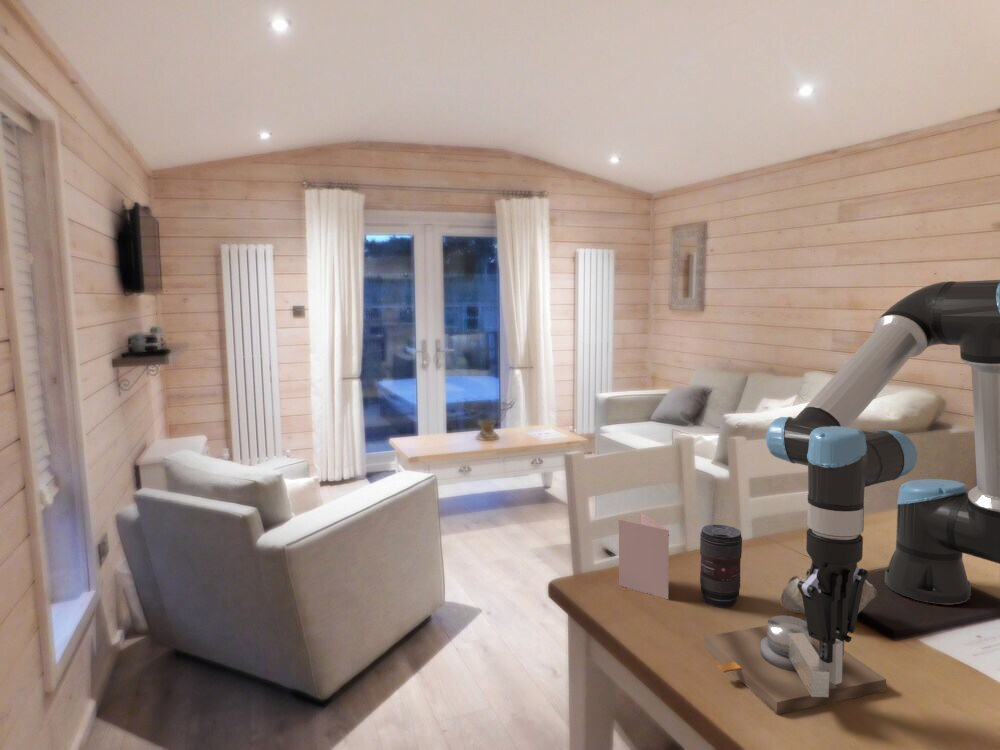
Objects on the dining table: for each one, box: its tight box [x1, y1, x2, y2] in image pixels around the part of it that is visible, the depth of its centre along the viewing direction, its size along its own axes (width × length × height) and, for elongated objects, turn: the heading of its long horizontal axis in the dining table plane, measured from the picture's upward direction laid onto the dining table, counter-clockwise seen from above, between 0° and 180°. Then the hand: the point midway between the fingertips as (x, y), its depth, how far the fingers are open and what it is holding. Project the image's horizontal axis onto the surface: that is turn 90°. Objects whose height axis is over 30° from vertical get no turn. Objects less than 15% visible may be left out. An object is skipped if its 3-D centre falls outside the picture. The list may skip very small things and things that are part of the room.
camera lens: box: [699, 524, 743, 608], centre depth 136 cm, size 8×8×15 cm
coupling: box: [767, 615, 829, 697], centre depth 106 cm, size 18×7×4 cm, turn 174°
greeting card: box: [618, 512, 670, 600], centre depth 141 cm, size 11×7×15 cm, turn 17°
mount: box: [703, 624, 887, 715], centre depth 111 cm, size 23×20×4 cm
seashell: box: [780, 568, 878, 615], centre depth 128 cm, size 10×15×10 cm
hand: (830, 678), depth 102 cm, fingers closed
